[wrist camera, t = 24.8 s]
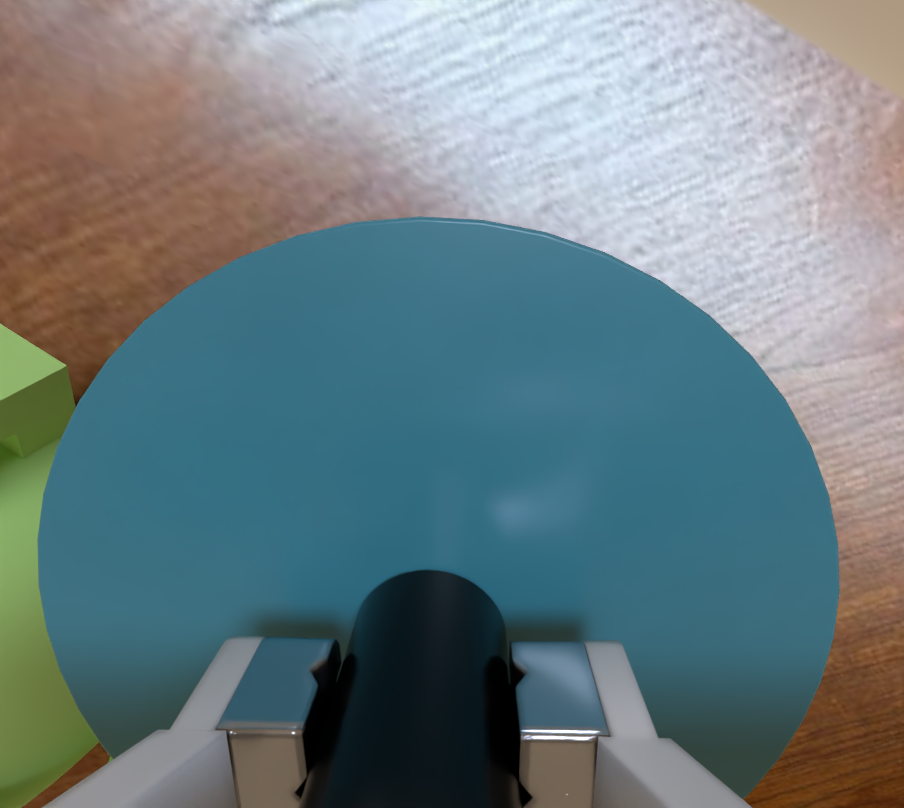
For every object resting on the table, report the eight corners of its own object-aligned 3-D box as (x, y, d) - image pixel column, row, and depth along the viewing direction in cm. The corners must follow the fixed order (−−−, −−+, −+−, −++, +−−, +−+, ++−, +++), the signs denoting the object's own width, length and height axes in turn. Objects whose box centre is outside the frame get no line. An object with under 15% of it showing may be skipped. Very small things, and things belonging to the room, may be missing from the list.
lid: (8, 225, 8) (-625, 204, 4) (864, 213, 8) (1478, 167, 3) (144, 847, 12) (-82, 1266, 7) (747, 861, 12) (952, 1320, 7)
